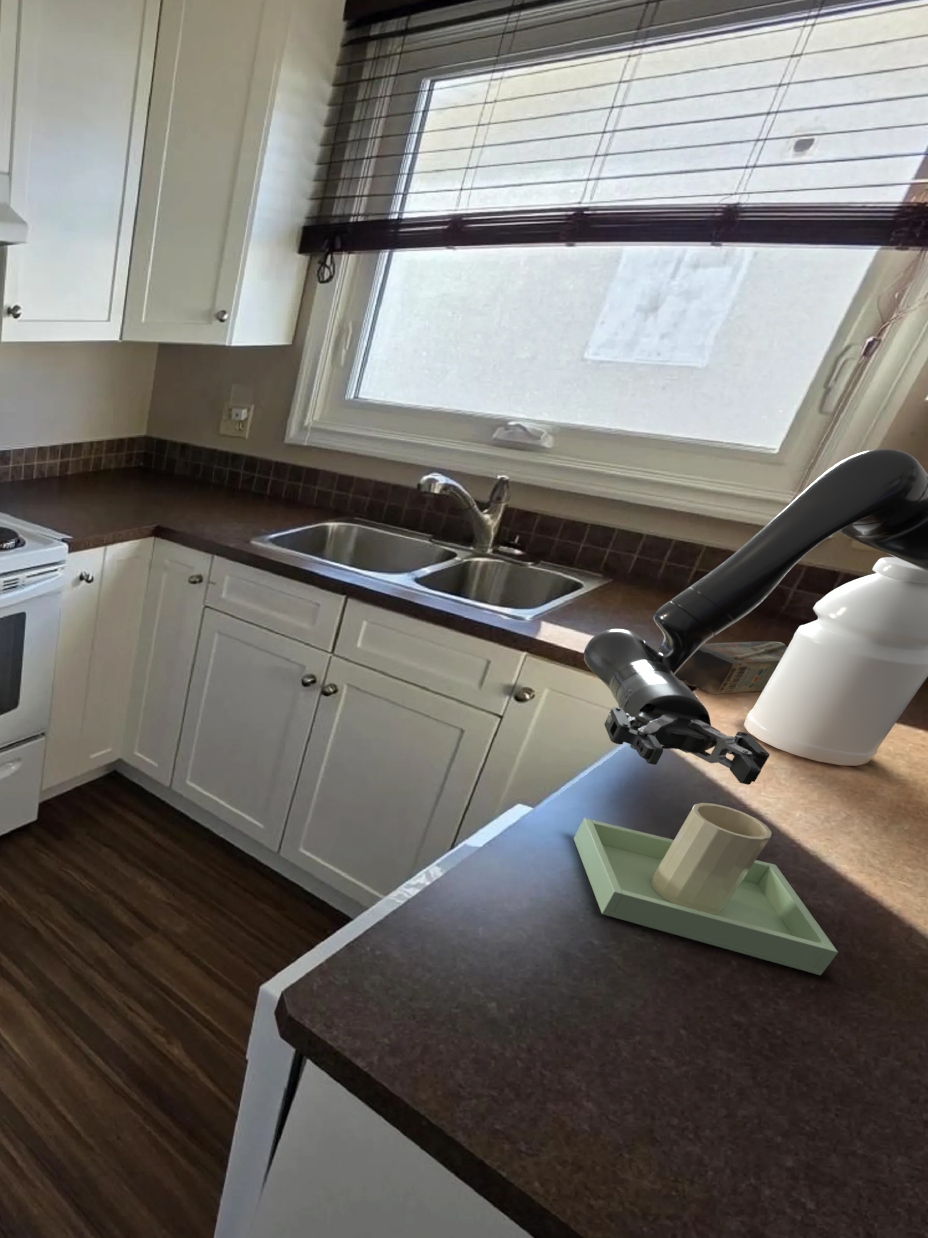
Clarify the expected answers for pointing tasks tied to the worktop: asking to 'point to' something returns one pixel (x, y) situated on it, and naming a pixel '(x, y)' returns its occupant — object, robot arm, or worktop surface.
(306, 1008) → the worktop surface
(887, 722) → the bottle
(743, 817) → the cup
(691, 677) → the beverage carton
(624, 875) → the tray
